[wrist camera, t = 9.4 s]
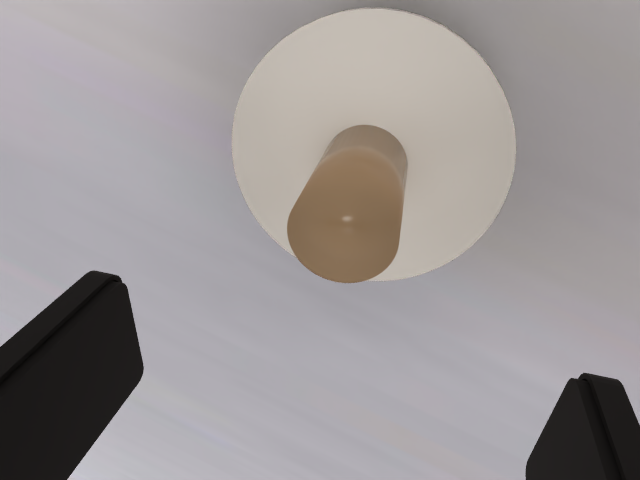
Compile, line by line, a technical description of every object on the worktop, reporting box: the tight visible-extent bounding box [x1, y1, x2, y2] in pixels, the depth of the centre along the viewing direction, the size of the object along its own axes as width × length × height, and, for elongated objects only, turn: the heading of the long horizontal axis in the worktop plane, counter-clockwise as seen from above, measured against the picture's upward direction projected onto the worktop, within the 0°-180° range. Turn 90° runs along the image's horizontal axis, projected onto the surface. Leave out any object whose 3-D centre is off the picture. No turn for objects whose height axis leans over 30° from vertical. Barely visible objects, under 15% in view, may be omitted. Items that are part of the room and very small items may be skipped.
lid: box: [232, 8, 516, 283], centre depth 17 cm, size 12×12×7 cm
